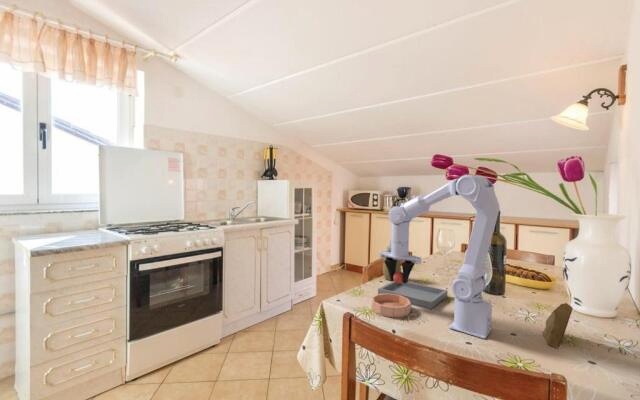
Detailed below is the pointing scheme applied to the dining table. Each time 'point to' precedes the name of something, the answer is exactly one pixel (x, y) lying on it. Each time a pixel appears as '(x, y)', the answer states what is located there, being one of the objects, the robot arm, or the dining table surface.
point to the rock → (557, 325)
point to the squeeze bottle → (385, 269)
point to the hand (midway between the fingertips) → (399, 281)
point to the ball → (398, 277)
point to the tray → (416, 293)
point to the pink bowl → (391, 305)
